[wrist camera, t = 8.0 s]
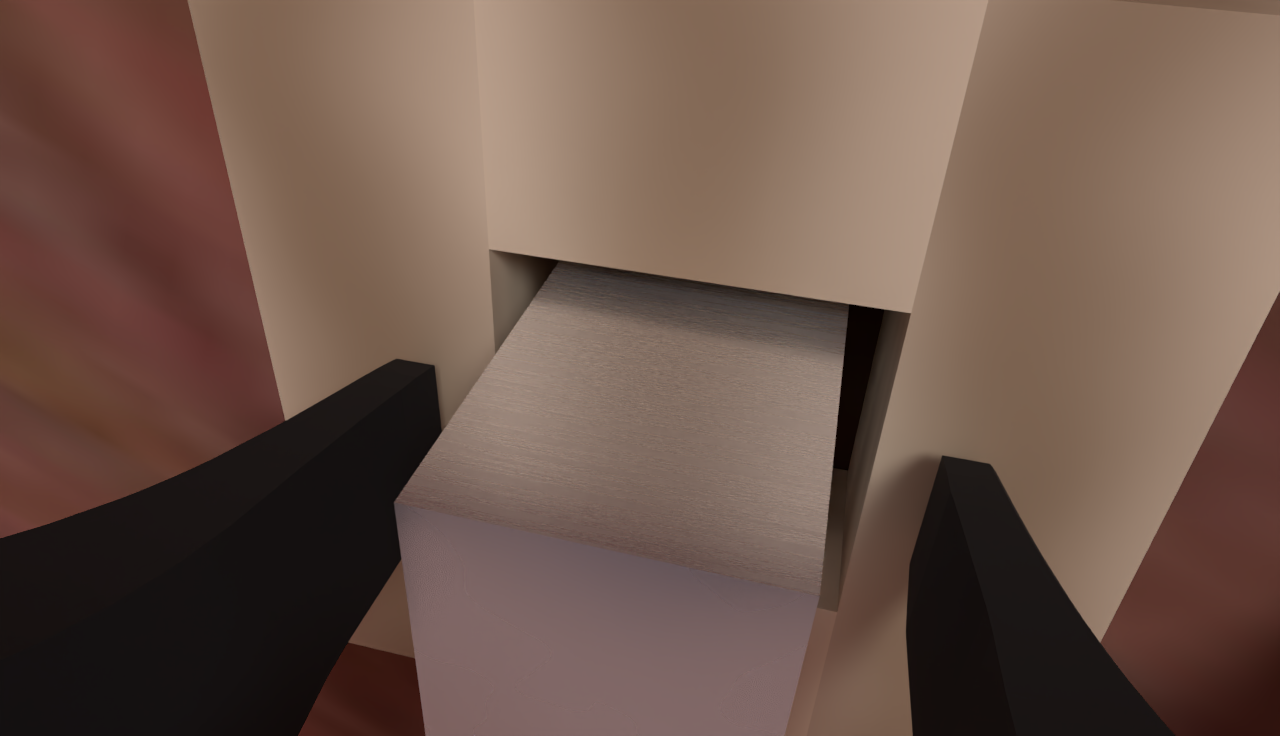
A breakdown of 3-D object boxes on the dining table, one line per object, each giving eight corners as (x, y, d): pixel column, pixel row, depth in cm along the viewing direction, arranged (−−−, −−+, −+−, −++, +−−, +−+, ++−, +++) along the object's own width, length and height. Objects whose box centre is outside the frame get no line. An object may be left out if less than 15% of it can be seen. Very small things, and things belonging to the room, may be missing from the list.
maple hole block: (1284, -41, 11) (1414, 27, 8) (1000, 642, 18) (1019, 802, 16) (323, -119, 13) (168, -86, 10) (413, 519, 21) (336, 639, 18)
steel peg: (857, 218, 14) (819, 595, 8) (815, 416, 17) (759, 836, 10) (614, 181, 15) (393, 502, 8) (605, 377, 17) (426, 747, 11)
